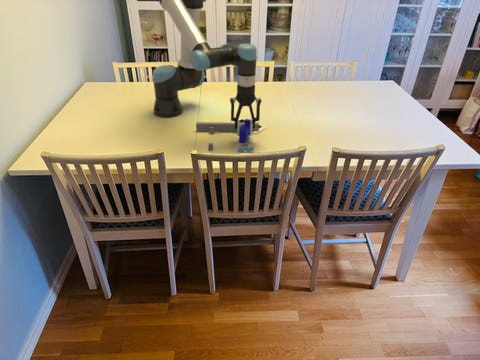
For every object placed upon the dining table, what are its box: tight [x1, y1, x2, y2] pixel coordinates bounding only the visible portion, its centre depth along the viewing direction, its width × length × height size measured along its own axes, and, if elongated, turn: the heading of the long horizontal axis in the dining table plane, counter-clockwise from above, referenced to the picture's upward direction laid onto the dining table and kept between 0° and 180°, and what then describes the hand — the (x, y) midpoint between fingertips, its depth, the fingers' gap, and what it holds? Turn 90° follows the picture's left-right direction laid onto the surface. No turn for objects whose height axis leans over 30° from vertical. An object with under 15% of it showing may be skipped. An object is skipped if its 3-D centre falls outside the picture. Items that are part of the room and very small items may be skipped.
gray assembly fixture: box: [195, 121, 260, 153], centre depth 153 cm, size 30×22×4 cm
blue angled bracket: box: [238, 118, 251, 144], centre depth 151 cm, size 12×4×6 cm, turn 167°
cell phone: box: [229, 117, 267, 135], centre depth 168 cm, size 9×18×1 cm, turn 51°
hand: (244, 134), depth 152 cm, fingers closed on blue angled bracket, 5 cm apart
